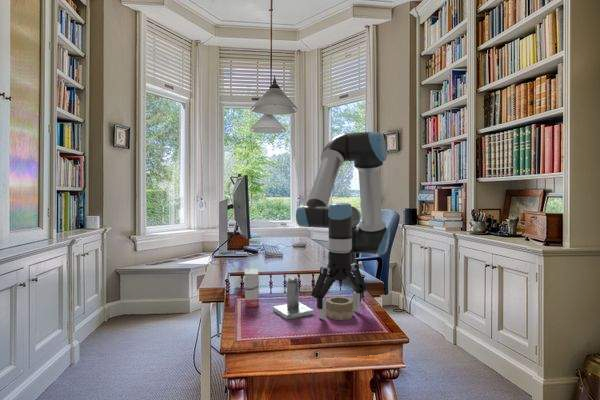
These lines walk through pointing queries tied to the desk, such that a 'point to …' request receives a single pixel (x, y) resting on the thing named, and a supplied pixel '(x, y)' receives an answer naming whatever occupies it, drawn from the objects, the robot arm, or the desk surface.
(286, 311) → the post
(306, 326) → the desk surface
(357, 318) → the desk surface
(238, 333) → the desk surface
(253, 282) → the ink box
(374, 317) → the desk surface
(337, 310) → the collar
